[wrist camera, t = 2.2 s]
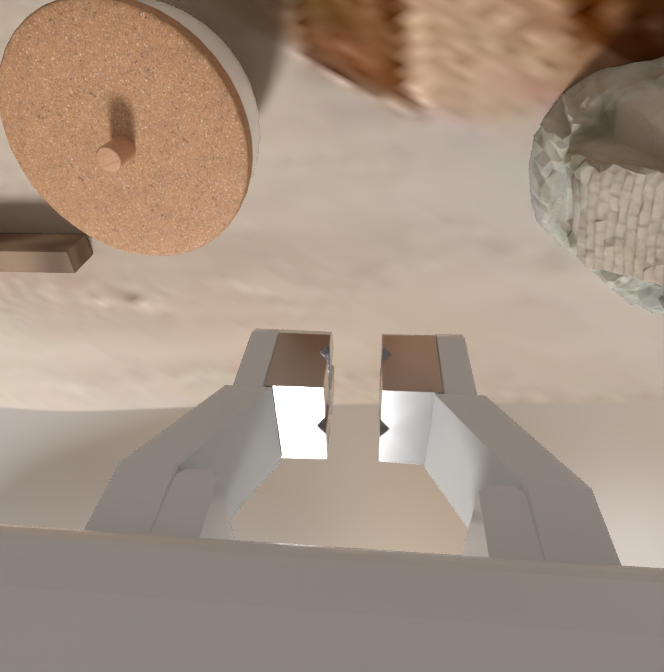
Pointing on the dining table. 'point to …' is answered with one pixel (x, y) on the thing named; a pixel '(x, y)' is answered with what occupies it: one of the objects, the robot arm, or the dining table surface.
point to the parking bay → (43, 252)
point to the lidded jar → (130, 121)
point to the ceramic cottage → (607, 178)
